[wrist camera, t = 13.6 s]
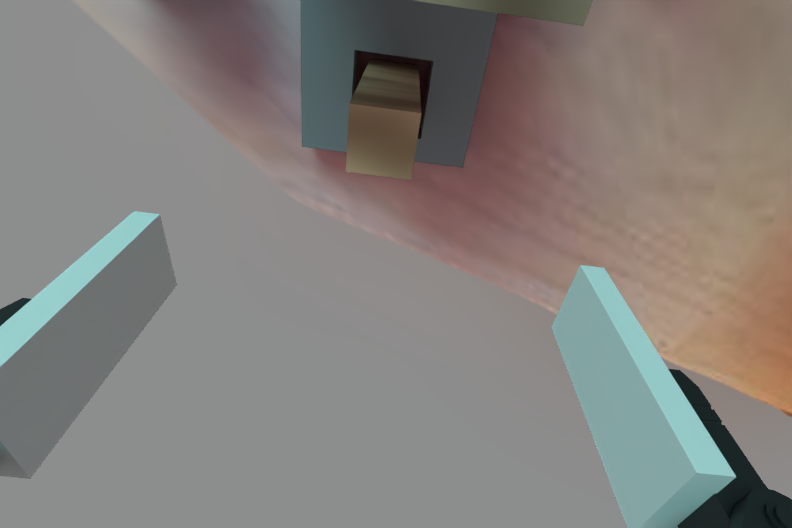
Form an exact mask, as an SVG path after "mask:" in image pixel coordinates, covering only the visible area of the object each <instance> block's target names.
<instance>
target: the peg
mask: <svg viewBox="0 0 792 528" xmlns="http://www.w3.org/2000/svg"><path fill="white" fill-rule="evenodd" d="M420 119H421V99H420V83H419V67H418V65H411V64H404V63H397V62H390V61H383V60H376V59H370V61H369V63H368V65H367V67H366V69H365V71H364V73H363V75H362V78H361V80H360V82H359V84H358V86H357V88H356V90H355V92H354V95H353V97H352V99H351V101H350V103H349V117H348V135H347V154H346V172H351V173H359V174H367V175H374V176H382V177H390V178H398V179H406V180H411V177H412V171H413V164H414V158H415V152H416V145H417V139H418V132H419V126H420Z"/></svg>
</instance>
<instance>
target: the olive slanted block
mask: <svg viewBox="0 0 792 528" xmlns="http://www.w3.org/2000/svg"><path fill="white" fill-rule="evenodd" d="M413 1H420V2H427V3H433V4H440V5H447V6H454V7H460V8H467V9H474V10H481V11H487V12H494V13H501V14H508V15H514V16H521V17H528V18H535V19H541V20H548V21H555V22H562V23H568V24H575V25H582V26H584V24H585V21H586V18H587V15H588V12H589V9H590V6H591V3H592V0H413Z"/></svg>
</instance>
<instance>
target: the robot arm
mask: <svg viewBox="0 0 792 528" xmlns="http://www.w3.org/2000/svg"><path fill="white" fill-rule="evenodd" d="M176 285H177V283H176V279H175V275H174V271H173V267H172V263H171V258H170V254H169V250H168V246H167V242H166V239H165V234H164V230H163V226H162V221H161V217H160V214H153V213H144V212H136V211H134V212H133V213H132V214H130V215H129V216H128V217H127V218H126V219H125V220H123V221H122V222H121V223H120V224H119V225H118V226H117V227H115V228H114V229H113V230H112V231H111V232H110V233H109V234H107V235H106V236H105V237H104V238H103V239H101V240H100V241H99V242H98V243H97V244H96V245H94V246H93V247H92V248H91V249H90V250H89V251H87V252H86V253H85V254H84V255H83V256H82V257H80V258H79V259H78V260H77V261H76V262H75V263H73V264H72V265H71V266H70V267H69V268H68V269H67V270H65V271H64V272H63V273H62V274H61V275H59V276H58V277H57V278H56V279H55V280H54V281H52V282H51V283H50V284H49V285H48V286H47V287H45V288H44V289H43V290H42V291H41V292H40V293H38V294H37V295H36V296H35V297H34V298H33V299H27V298H22V299H20V300H18V301H16V302H14V303H12V304H10V305H8V306H6V307H4V308H2V309H0V476H7V477H8V476H9V477H18V478H28V479H30V478H31V477H32V476H33V474H34V473H35V472H36V470H37V469H38V468H39V466H40V465H41V464H42V462H43V461H44V460H45V458H46V457H47V456H48V454H49V453H50V452H51V450H52V449H53V448H54V447H55V445H56V444H57V443H58V441H59V440H60V439H61V437H62V436H63V435H64V433H65V432H66V431H67V429H68V428H69V427H70V425H71V424H72V423H73V421H74V420H75V419H76V417H77V416H78V415H79V413H80V412H81V411H82V409H83V408H84V407H85V406H86V404H87V403H88V402H89V400H90V399H91V398H92V396H93V395H94V394H95V392H96V391H97V390H98V388H99V387H100V386H101V384H102V383H103V382H104V380H105V379H106V378H107V377H108V375H109V374H110V372H111V371H112V370H113V369H114V367H115V366H116V364H117V363H118V362H119V361H120V359H121V358H122V357H123V355H124V354H125V353H126V351H127V350H128V349H129V347H130V346H131V345H132V343H133V342H134V341H135V340H136V338H137V337H138V336H139V334H140V333H141V332H142V330H143V329H144V327H145V326H146V325H147V324H148V322H149V321H150V320H151V318H152V317H153V316H154V314H155V313H156V312H157V310H158V309H159V308H160V306H161V305H162V304H163V303H164V301H165V300H166V299H167V297H168V296H169V295H170V293H171V292H172V291H173V289H174V288H175V287H176ZM551 328H552V331H553V333H554V336H555V339H556V341H557V344H558V347H559V350H560V352H561V355H562V357H563V360H564V363H565V365H566V368H567V371H568V373H569V376H570V378H571V381H572V383H573V386H574V389H575V391H576V394H577V397H578V399H579V402H580V405H581V407H582V410H583V413H584V415H585V418H586V420H587V423H588V426H589V428H590V431H591V433H592V436H593V438H594V441H595V444H596V447H597V449H598V452H599V454H600V457H601V459H602V462H603V465H604V468H605V470H606V473H607V476H608V478H609V481H610V483H611V486H612V489H613V491H614V494H615V496H616V499H617V502H618V504H619V507H620V510H621V512H622V515H623V518H624V520H625V523H626V526H627V528H677V527H678V528H792V500H791V499H790V498H788V497H786V496H784V495H782V494H780V493H778V492H776V491H774V490H769V489H768V488H767V487H766V485H765V484H764V483H763V481H762V480H761V478H760V477H759V476H758V474H757V473H756V471H755V470H754V468H753V467H752V465H751V464H750V462H749V461H748V460H747V458H746V456H745V455H744V453H743V452H742V451H741V449H740V448H739V446H738V445H737V443H736V442H735V440H734V439H733V437H732V436H731V434H730V433H729V431H728V430H727V429H726V427H725V426H724V425H722V424H721V422H722V421H721V420H720V418H719V417H718V415H717V414H716V412H715V411H714V410H712V409H711V405H710V403H709V402H708V400H707V399H706V397H705V396H704V395H703V393H702V392H701V390H700V389H699V387H698V386H696V384H694V383H693V382H692V381H691V380H690V379H689V378H688V377H687V376H686V375H685V374H684V373H682V372H681V371H680V370H674V369H668V368H667V367H666V365H665V363H664V362H663V360H662V359H661V357H660V356H659V354H658V352H657V351H656V349H655V348H654V346H653V345H652V343H651V341H650V340H649V338H648V337H647V335H646V333H645V332H644V330H643V329H642V327H641V326H640V324H639V322H638V321H637V319H636V318H635V316H634V315H633V313H632V311H631V310H630V308H629V307H628V305H627V304H626V302H625V300H624V299H623V297H622V296H621V294H620V292H619V291H618V289H617V288H616V286H615V285H614V283H613V281H612V280H611V278H610V277H609V275H608V274H607V272H606V270H605V269H604V268H601V267H592V266H584V265H580V267H579V269H578V271H577V273H576V275H575V278H574V280H573V282H572V284H571V286H570V288H569V290H568V293H567V295H566V297H565V299H564V301H563V303H562V305H561V308H560V310H559V312H558V314H557V316H556V318H555V320H554V323H553V325H552V327H551Z"/></svg>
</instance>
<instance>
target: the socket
mask: <svg viewBox="0 0 792 528" xmlns="http://www.w3.org/2000/svg"><path fill="white" fill-rule="evenodd" d="M497 16H498V13H494V12H487V11H481V10H474V9H467V8H460V7H454V6H447V5H440V4H433V3H427V2H420V1H413V0H301V91H302V147H309V148H317V149H325V150H332V151H340V152H347V135H348V117H349V103H350V101H351V99H352V97H353V95H354V92H355V90H356V79H357V63H358V51H365V52H372V53H379V54H386V55H393V56H400V57H407V58H414V59H422V60H429V61H431V64H430V70H429V77H428V83H427V89H426V96H425V102H424V109H423V115H422V121H421V128H419V132H418V139H417V145H416V152H415V158H414V161H416V162H424V163H432V164H439V165H447V166H455V167H462V168H463V164H464V160H465V156H466V151H467V147H468V143H469V138H470V134H471V129H472V125H473V121H474V116H475V112H476V108H477V103H478V99H479V95H480V90H481V86H482V81H483V77H484V73H485V68H486V64H487V60H488V55H489V51H490V47H491V42H492V38H493V33H494V29H495V25H496V20H497Z"/></svg>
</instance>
